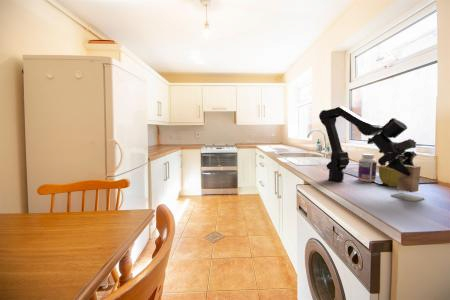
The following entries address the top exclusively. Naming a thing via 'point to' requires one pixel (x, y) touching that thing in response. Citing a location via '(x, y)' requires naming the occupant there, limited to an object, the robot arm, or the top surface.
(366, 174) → the pill bottle
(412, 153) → the robot arm
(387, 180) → the flower pot
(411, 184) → the walnut block
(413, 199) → the slate tile
